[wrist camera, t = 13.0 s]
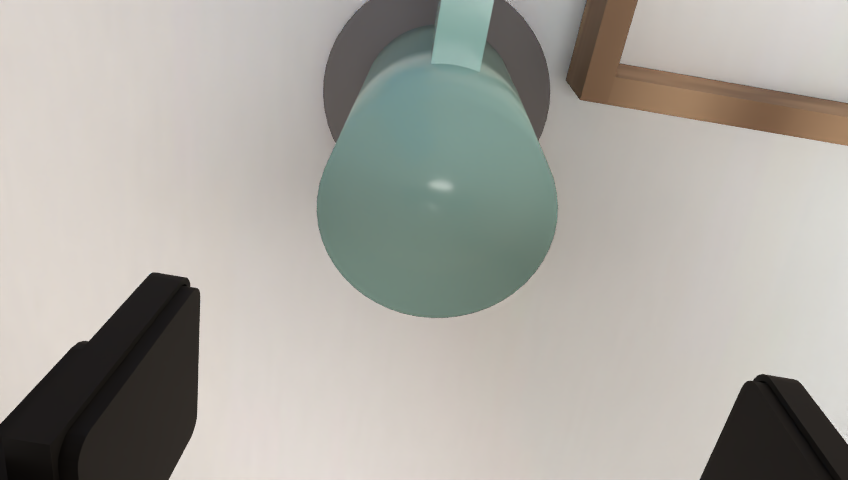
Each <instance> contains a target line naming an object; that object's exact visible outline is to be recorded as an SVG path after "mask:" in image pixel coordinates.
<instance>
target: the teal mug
mask: <svg viewBox="0 0 848 480" xmlns="http://www.w3.org/2000/svg"><path fill="white" fill-rule="evenodd" d="M493 3H494V0H439V2H438V8H437V14H436V20H435V24H434V25H426V26H421V27H417V28H414V29H411V30H409V31H407V32H405V33H403V34H401V35H399V36H398V37H396V38H395V39H393V40H392V41H391V42H390V43H389V44H387V45H386V46H385V47H384V48H383V50H382V51H381V52H380V53H379V54H378V56H377V57H376V59H375V60H374V62H373V64H372V66H371V68H370V70H369V72H368V74H367V76H366V78H365V81H364V83H363V85H362V87H361V89H360V92H359V94H358V96H357V98H356V100H355V103H354V105H353V107H352V109H351V111H350V114H349V116H348V118H347V120H346V122H345V125H344V127H343V129H342V131H341V133H340V136H339V138H338V140H337V142H336V144H335V147H334V149H333V151H332V153H331V156H330V158H329V160H328V162H327V164H326V167H325V169H324V172H323V175H322V178H321V181H320V185H319V190H318V196H317V218H318V226H319V230H320V234H321V238H322V241H323V243H324V246H325V248H326V251H327V253H328V255H329V256H330V258H331V260H332V262H333V263H334V265H335V266H336V268H337V269H338V270H339V272H340V273H341V274H342V276H343V277H344V278H345V279H346V280H347V281H348V282H349V283H350V284H351V285H352V286H353V287H354V288H356V289H357V290H358V291H359V292H361V293H362V294H363V295H365V296H366V297H368V298H369V299H371V300H373V301H374V302H376V303H378V304H380V305H382V306H384V307H387V308H389V309H391V310H395V311H398V312H401V313H404V314H408V315H413V316H418V317H429V318H448V317H456V316H462V315H466V314H471V313H475V312H478V311H480V310H483V309H486V308H489V307H491V306H493V305H495V304H497V303H499V302H501V301H502V300H504V299H505V298H507V297H509V296H510V295H512V294H513V293H514V292H516V291H517V290H518V289H519V288H520V287H521V286H523V285H524V284H525V283H526V282H527V281H528V280H529V279H530V277H531V276H532V275H533V274H534V273H535V272H536V270H537V269H538V267H539V266H540V264H541V263H542V262H543V260H544V258H545V256H546V254H547V252H548V250H549V248H550V245H551V242H552V240H553V237H554V233H555V228H556V223H557V212H558V203H557V192H556V188H555V183H554V179H553V176H552V173H551V171H550V168H549V166H548V163H547V161H546V159H545V156H544V154H543V151H542V149H541V147H540V144H539V142H538V139H537V137H536V135H535V132H534V130H533V128H532V125H531V123H530V120H529V118H528V116H527V113H526V111H525V109H524V106H523V104H522V101H521V99H520V97H519V94H518V92H517V89H516V87H515V85H514V82H513V80H512V78H511V75H510V73H509V70H508V68H507V66H506V64H505V62H504V61H503V59H502V57H501V56H500V55H499V53H498V52H497V51H496V50H495V49H494V48H493V47H492V46H491V45H490V44H489V43H488V42H487V41H486V38H487V33H488V28H489V23H490V18H491V13H492V8H493Z"/></svg>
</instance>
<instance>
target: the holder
mask: <svg viewBox="0 0 848 480" xmlns="http://www.w3.org/2000/svg"><path fill="white" fill-rule="evenodd" d="M637 1H638V0H587V2H586V5H585V9H584V13H583V17H582V21H581V25H580V28H579V32H578V36H577V40H576V44H575V47H574V51H573V55H572V59H571V63H570V67H569V70H568V74H567V78H566V81H567V83H568V84H569V85H570V87H571V88H572V90H573V91H574V92H575V94H576V95H577V96H578V98H579V99H580V100H584V101H590V102H596V103H602V104H607V105H613V106H619V107H625V108H631V109H637V110H642V111H648V112H654V113H660V114H666V115H672V116H677V117H683V118H689V119H695V120H701V121H707V122H712V123H718V124H724V125H730V126H736V127H742V128H748V129H753V130H759V131H765V132H771V133H777V134H783V135H788V136H794V137H800V138H806V139H812V140H818V141H823V142H829V143H835V144H841V145H847V146H848V103H842V102H836V101H830V100H825V99H819V98H813V97H808V96H802V95H796V94H790V93H785V92H779V91H773V90H767V89H762V88H756V87H750V86H745V85H739V84H733V83H727V82H722V81H716V80H710V79H705V78H699V77H693V76H687V75H682V74H676V73H670V72H665V71H659V70H653V69H647V68H642V67H636V66H630V65H625V64H619V62H620V59H621V56H622V52H623V49H624V45H625V42H626V39H627V35H628V32H629V28H630V25H631V22H632V18H633V15H634V11H635V8H636V5H637Z"/></svg>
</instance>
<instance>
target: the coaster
mask: <svg viewBox="0 0 848 480" xmlns="http://www.w3.org/2000/svg"><path fill="white" fill-rule="evenodd" d="M438 2H439V0H369V1H368V2H367V3H366V4H365V5H363V6H362V7H361V8H360V9H359V10H358V11H357V12H356V13H355V14H354V15H353V16H352V18H351V19H350V20H349V21H348V22H347V24H346V25H345V26H344V28H343V29H342V31H341V33H340V34H339V36H338V37H337V39H336V41H335V43H334V46H333V48H332V50H331V52H330V55H329V59H328V62H327V65H326V70H325V76H324V88H323V98H324V108H325V114H326V118H327V122H328V126H329V128H330V131H331V134H332V136H333V139H334V140H335V142H337V140H338V138H339V136H340V133H341V131H342V129H343V127H344V125H345V122H346V120H347V118H348V116H349V114H350V111H351V109H352V107H353V105H354V103H355V100H356V98H357V96H358V94H359V92H360V89H361V87H362V85H363V83H364V81H365V78H366V76H367V74H368V72H369V70H370V68H371V66H372V64H373V62H374V60H375V59H376V57H377V56H378V54H379V53H380V52H381V51H382V50H383V48H384V47H385V46H386V45H387V44H389V43H390V42H391V41H392V40H393V39H395V38H396V37H398V36H399V35H401V34H403V33H405V32H407V31H409V30H411V29H414V28H417V27H421V26H426V25H434V24H435V20H436V14H437V8H438ZM486 41H487V42H488V43H489V44H490V45H491V46H492V47H493V48H494V49H495V50H496V51H497V52H498V53H499V55H500V56H501V57H502V59H503V61H504V62H505V64H506V66H507V68H508V70H509V73H510V75H511V78H512V80H513V82H514V85H515V87H516V89H517V92H518V94H519V97H520V99H521V101H522V104H523V106H524V109H525V111H526V113H527V116H528V118H529V120H530V123H531V125H532V128H533V130H534V132H535V135H536V137H537V139H538V140H539V138H540V136H541V134H542V131H543V128H544V125H545V122H546V119H547V114H548V109H549V101H550V82H549V73H548V68H547V64H546V60H545V57H544V54H543V51H542V49H541V46H540V44H539V42H538V40H537V38H536V36H535V35H534V33H533V31H532V30H531V28H530V27H529V26H528V24H527V23H526V21H525V20H524V19H523V17H522V16H521V15H520V14H519V13H518V12H517V11H516V10H515V9H514V8H513V7H512V6H511V5H510V4H508V3H507V2H506V1H504V0H494V3H493V8H492V13H491V18H490V23H489V28H488V33H487V38H486Z"/></svg>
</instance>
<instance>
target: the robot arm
mask: <svg viewBox="0 0 848 480" xmlns="http://www.w3.org/2000/svg"><path fill="white" fill-rule="evenodd" d="M199 321H200V292H199V289H198V288H192V287H190V282H189V279H188V278H185V277H179V276H173V275H167V274H161V273H151V274H150V275H149V276H148V277H147V278H146V279H145V280H144V281H143V282H142V283H141V284H140V286H139V287H138V288H137V289H136V290H135V291H134V292H133V293H132V294H131V296H130V297H129V298H128V299H127V300H126V301H125V302H124V303H123V304H122V305H121V307H120V308H119V309H118V310H117V311H116V312H115V313H114V314H113V315H112V316H111V318H110V319H109V320H108V321H107V322H106V323H105V324H104V325H103V326H102V327H101V329H100V330H99V331H98V332H97V333H96V334H95V335H94V336H93V337H92V339H91V340H90V341H89V342H88V341H82V342H78V343H77V344H76V345H75V346H73V347H72V348H71V349H70V350H69V351H68V352H67V353H66V354H65V355H64V357H63V358H62V359H61V360H60V361H59V362H58V363H57V364H56V365H55V366H54V367H53V368H52V369H51V370H50V372H49V373H48V374H47V375H46V376H45V377H44V378H43V379H42V380H41V381H40V382H39V383H38V384H37V385H36V387H35V388H34V389H33V390H32V391H31V392H30V393H29V394H28V395H27V396H26V397H25V398H24V399H23V400H22V402H21V403H20V404H19V405H18V406H17V407H16V408H15V409H14V410H13V411H12V412H11V413H10V414H9V415H8V416H7V418H6V419H5V420H4V421H3V422H2V423H1V424H0V480H169V478H170V476H171V474H172V472H173V470H174V468H175V466H176V465H177V463H178V461H179V459H180V457H181V455H182V453H183V451H184V449H185V448H186V446H187V444H188V442H189V440H190V438H191V436H192V434H193V431H194V428H195V424H196V419H197V398H198V360H199ZM700 480H848V444H847V443H846V442H845V440H844V439H843V438H842V436H841V435H840V434H839V433H838V431H837V430H836V429H835V427H834V426H833V425H832V423H831V422H830V421H829V419H828V418H827V417H826V416H825V414H824V413H823V412H822V410H821V409H820V408H819V406H818V405H817V404H816V403H815V401H814V400H813V399H812V397H811V396H810V395H809V393H808V392H807V391H806V389H805V388H804V387H803V386H802V384H801V383H800V382H798V381H797V380H794V379H788V378H782V377H777V376H771V375H765V374H761V375H758V376H757V377H756V378H755V379H754V380H753V381H747V382H746V383H745V384H744V385H743V387H742V388H741V391H740V393H739V395H738V397H737V399H736V401H735V404H734V406H733V408H732V410H731V412H730V415H729V417H728V419H727V421H726V423H725V426H724V428H723V430H722V432H721V434H720V436H719V439H718V441H717V443H716V445H715V447H714V450H713V452H712V454H711V456H710V458H709V461H708V463H707V465H706V467H705V469H704V472H703V474H702V476H701V478H700Z"/></svg>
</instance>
